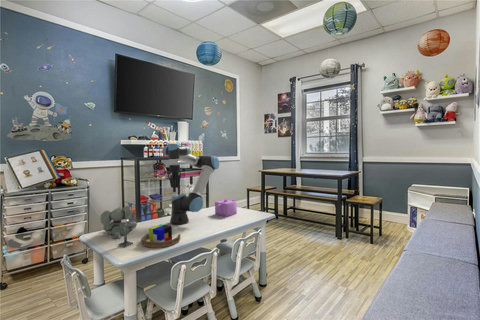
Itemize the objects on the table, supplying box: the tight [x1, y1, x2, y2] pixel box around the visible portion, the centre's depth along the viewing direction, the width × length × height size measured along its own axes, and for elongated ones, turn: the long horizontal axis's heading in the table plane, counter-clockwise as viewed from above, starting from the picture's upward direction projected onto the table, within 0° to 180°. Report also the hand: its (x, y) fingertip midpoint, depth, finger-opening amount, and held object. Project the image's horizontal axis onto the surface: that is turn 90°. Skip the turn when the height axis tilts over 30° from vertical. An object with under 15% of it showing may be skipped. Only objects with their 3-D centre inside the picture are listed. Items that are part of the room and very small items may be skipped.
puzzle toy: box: [148, 223, 173, 242], centre depth 171 cm, size 10×10×10 cm
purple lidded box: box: [214, 198, 238, 218], centre depth 243 cm, size 15×25×14 cm, turn 141°
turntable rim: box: [141, 233, 181, 249], centre depth 171 cm, size 24×21×3 cm
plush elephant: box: [100, 205, 137, 240], centre depth 189 cm, size 27×22×21 cm
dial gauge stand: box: [118, 218, 138, 248], centre depth 166 cm, size 8×8×16 cm
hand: (175, 196), depth 192 cm, fingers closed
